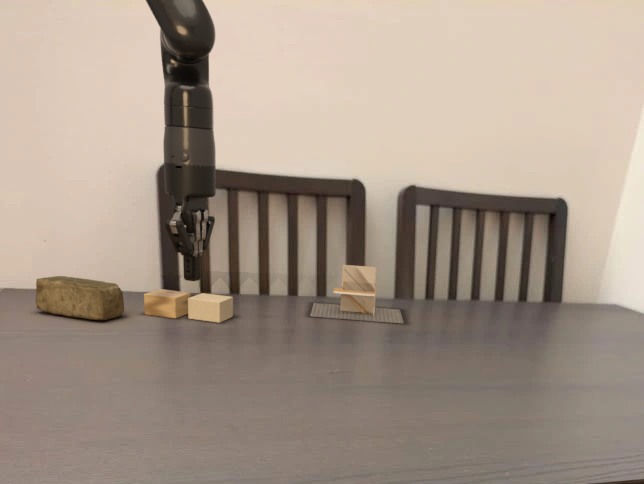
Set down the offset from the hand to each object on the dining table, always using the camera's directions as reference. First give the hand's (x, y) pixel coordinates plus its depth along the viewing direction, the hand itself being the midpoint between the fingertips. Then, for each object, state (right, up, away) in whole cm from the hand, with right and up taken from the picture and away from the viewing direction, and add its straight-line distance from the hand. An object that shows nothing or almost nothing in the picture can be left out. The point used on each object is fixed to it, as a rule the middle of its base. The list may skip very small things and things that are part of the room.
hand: (192, 280), depth 116 cm
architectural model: (+26, -4, +6) cm, 27 cm away
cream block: (+4, -7, -6) cm, 10 cm away
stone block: (-13, -8, -11) cm, 19 cm away
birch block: (-2, -7, -6) cm, 9 cm away
